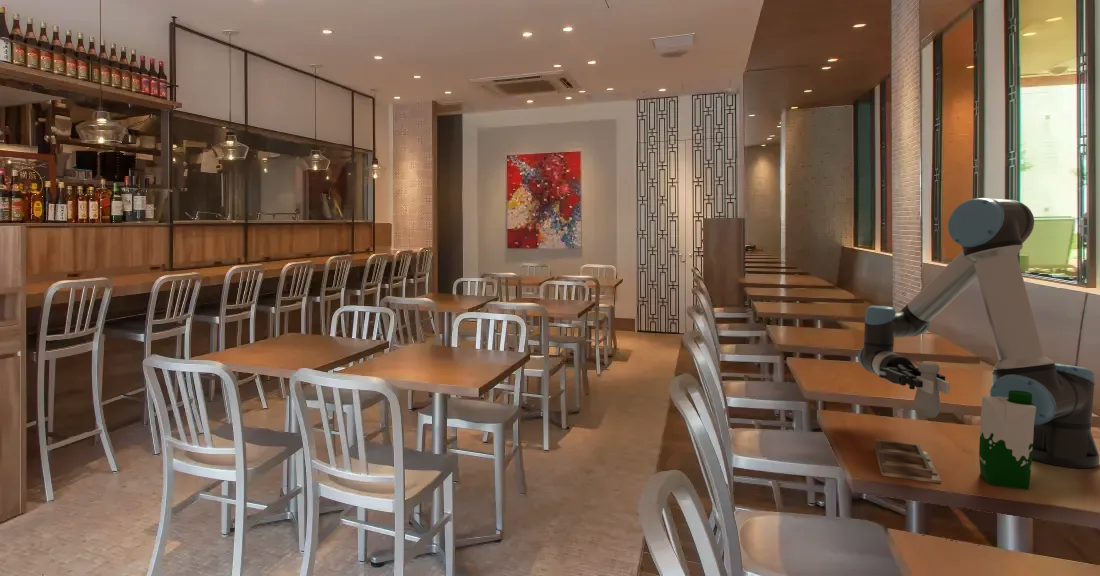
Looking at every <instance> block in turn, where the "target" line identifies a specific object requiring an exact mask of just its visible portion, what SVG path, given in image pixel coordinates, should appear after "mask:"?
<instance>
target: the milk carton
mask: <svg viewBox="0 0 1100 576" xmlns="http://www.w3.org/2000/svg"><path fill="white" fill-rule="evenodd" d="M981 397H982V399H981V410H980V411H981V412H980V426H979V429H980V431H979V443H978V444H979V446H978V447H979V449H978V453H979V454H978V459H979V472H980V473H979V474H981V476H982V477H983V479H984V481H986V482H987V484H988V485H991V486H996V487H997V486H998V487H1005V488H1013V489H1023V490H1030V482H1031V481H1030V480H1031V474H1032V473H1031V472H1032V464H1033V461H1032V460H1033V459H1032V450H1033V433H1034V420H1035V413H1036V407H1035V406H1034V405H1033V403H1032V393H1029V392H1025V391H1016V390H1012V391H1009V396H1008V397H999V396H996V397H990V395H989V396H988V395H987V396H986V395H981Z"/></svg>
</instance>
